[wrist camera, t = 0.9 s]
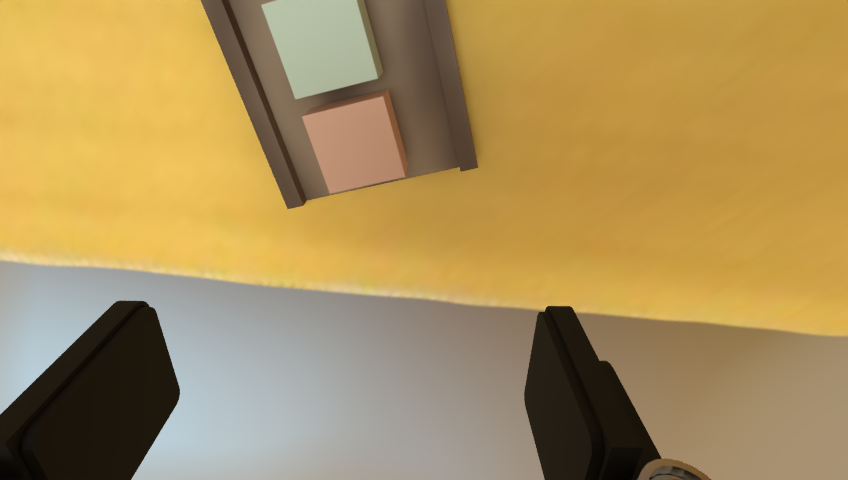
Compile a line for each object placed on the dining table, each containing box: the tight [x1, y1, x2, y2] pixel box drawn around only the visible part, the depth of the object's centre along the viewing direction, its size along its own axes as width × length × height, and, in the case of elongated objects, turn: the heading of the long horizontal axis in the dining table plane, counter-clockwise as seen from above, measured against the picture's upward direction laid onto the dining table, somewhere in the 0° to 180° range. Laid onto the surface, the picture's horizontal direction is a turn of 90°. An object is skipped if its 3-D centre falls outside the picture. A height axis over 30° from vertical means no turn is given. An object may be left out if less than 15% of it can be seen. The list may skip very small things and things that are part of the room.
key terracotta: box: [302, 89, 408, 194], centre depth 28 cm, size 5×5×2 cm
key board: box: [201, 0, 478, 209], centre depth 28 cm, size 14×20×2 cm
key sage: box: [261, 0, 383, 99], centre depth 26 cm, size 5×5×2 cm
